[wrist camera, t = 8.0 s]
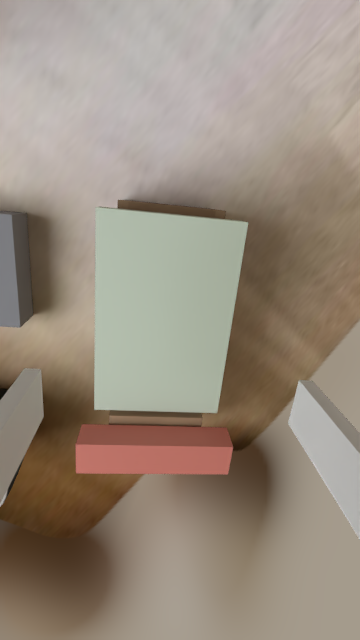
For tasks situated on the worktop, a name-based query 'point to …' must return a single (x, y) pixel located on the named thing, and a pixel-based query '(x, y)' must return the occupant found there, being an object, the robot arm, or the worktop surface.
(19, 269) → the lid rest
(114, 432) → the red rectangular bar
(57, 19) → the worktop surface
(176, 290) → the lid
